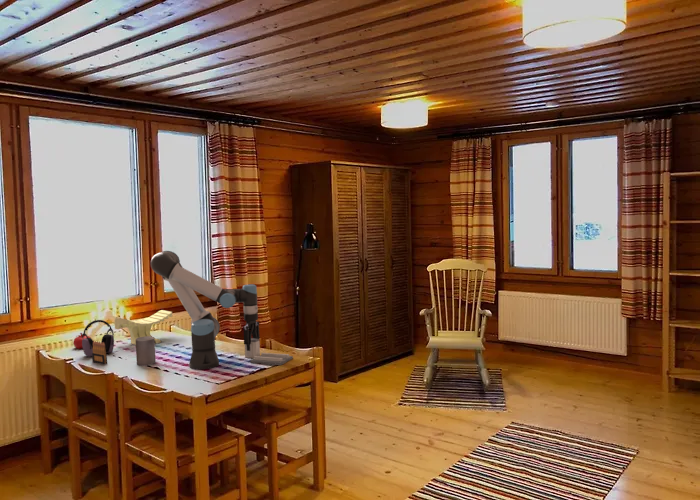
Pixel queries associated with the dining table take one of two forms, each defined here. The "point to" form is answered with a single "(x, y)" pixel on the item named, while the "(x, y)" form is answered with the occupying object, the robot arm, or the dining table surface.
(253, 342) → the grey rectangular block
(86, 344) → the headphones
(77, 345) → the pomegranate
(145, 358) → the pillar candle
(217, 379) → the dining table surface
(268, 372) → the dining table surface
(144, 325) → the slatted curved stool
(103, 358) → the ammunition clip
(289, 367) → the dining table surface
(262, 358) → the end holder
